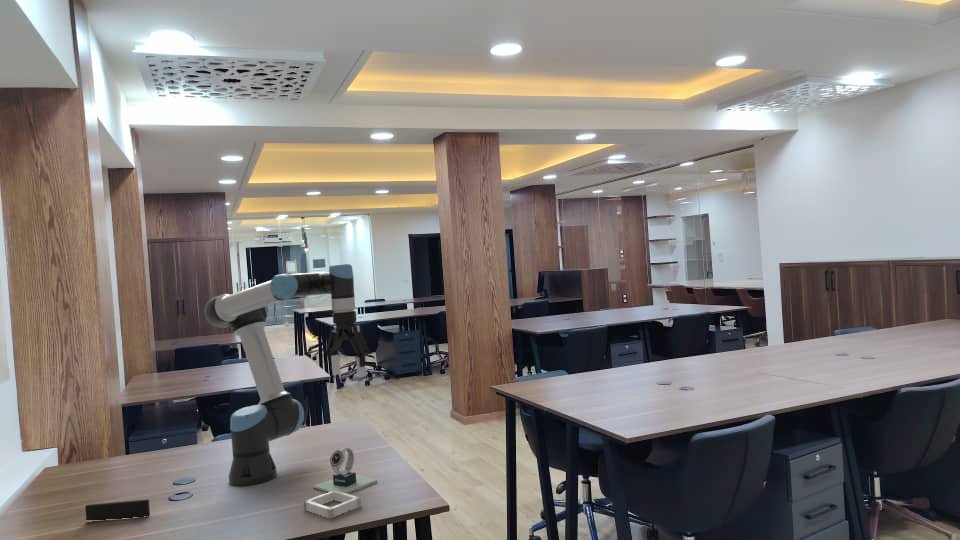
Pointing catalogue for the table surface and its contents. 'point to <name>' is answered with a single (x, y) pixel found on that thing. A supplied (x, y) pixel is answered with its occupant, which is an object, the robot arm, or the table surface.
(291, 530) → the table surface
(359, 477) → the mat
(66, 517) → the table surface
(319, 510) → the dock
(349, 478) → the watch
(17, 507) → the table surface
